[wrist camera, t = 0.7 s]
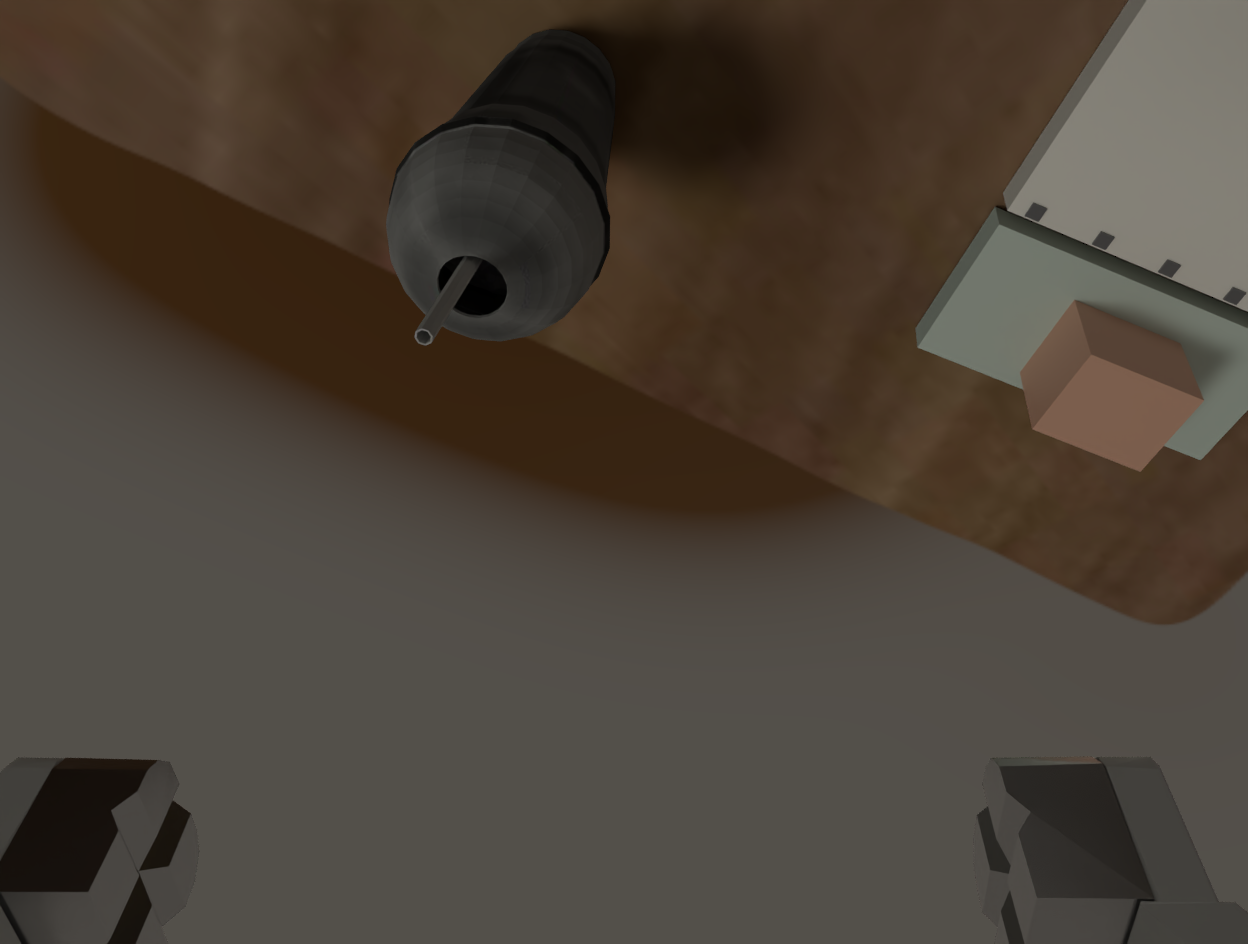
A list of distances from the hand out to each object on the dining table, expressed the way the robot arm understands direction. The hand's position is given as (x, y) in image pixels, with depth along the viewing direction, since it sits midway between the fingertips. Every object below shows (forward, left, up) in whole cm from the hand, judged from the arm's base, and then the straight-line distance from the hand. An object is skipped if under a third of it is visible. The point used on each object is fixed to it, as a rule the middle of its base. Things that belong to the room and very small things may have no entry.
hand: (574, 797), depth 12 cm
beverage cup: (+10, -4, -39) cm, 40 cm away
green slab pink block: (+11, +21, -38) cm, 45 cm away
